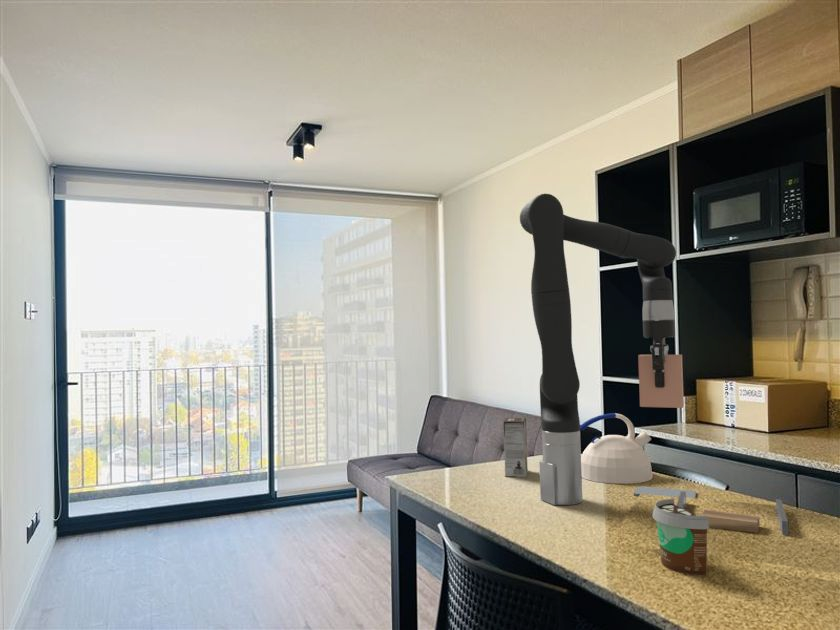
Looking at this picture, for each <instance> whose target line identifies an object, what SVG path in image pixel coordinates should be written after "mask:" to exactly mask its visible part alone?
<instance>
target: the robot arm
mask: <svg viewBox="0 0 840 630" xmlns="http://www.w3.org/2000/svg"><path fill="white" fill-rule="evenodd" d="M563 209H564V208H563V205H562V204H561V202H560V199H558V198H557V197H556V196H555V195H553V194H550V193H542V194H537V195H536V196H535V197H533V198H532V199H531V200H529V202H527V203H526V204H525V205H524V206H523V208H522V209H521V211H520V213H519V223H520V224H521V228H522V229H523V230H524V231H525V232H526V233H528V234H529V235H532V240H533V248H534V259H533V265H532V266H533V267H532V272H531V273H532V274H531V283H530V288H531V289H530V292H531V302H532V303H531V304H532V310H533V312H532V313H533V317H534V322H535V327H536V329H537V334H538V337H539V342H540V348H541V356H542V357H541V360H542V361H541V363H542V364H541V365H542V366H541V368H542V369H541V371H542V372H541V375H540V378H539V403H540V420H541V421H540V422H541V442H542V443H541V446H542V449H541V450H542V460H540V461H539V464H538V465H539V486H540V488H539V489H540V490H539V491H540V494H539V496H540V500H541V501H544V502H546V503H549V504H551V505H552V506H553V505H554V506H555V505H557V506H558V505H561V506H562V505H563V506H568V505H569V506H571V505H578V504H580V503H582V502H583V481H582V479H583V478H582V474H581V456H582V451H581V449H582V448H581V430H580V426H581V423H580V420H581V419H580V415H579V405H578V403H579V402H578V401H579V400H578V399H579V398H578V393H579V391H580V378H579V373H578V370H577V367H576V360H575V355H574V350H573V341H572V338H573V336H572V334H573V333H572V329H573V328H572V307H571V305H572V304H571V296H570V288H569V280H568V271H567V263H566V262H567V261H566V256H565V247H564V245H565V244H564V241H566V242H570V243H575V244H578V245H581V246H585V247H589V248H592V249H595V250H598V251H600V252H603V253H606V254H608V255H609V254H610V255H613V256H615V257H619V258H621V259H636V262H637V269H638V273H639V277H640V281H641V284H642V301H643V302H642V330H643V332H642V333H643V334H642V336H643V337H644V338H646V339H650V338H651V339H652V341H653V342H652V344H651V345H650V346H649V347H650V349H649V350H650V352H651V355H652V364H653V367H652V369H653V371H654V372H655V387H658V388H663V387H664V386H665V379H664V373H662V372H664V371H665V369H664V364H665V363H666V355H669V354H668V353H669V344H666V338H674V337H675V336H676V329H675V328H676V327H675V325H676V324H675V308H674V302H673V298H674V297H673V286H672V280H671V279H670V278H668V277H666V274H665V269H664V267H667V266H669V265H671V264H672V263H673V262H674V260H675V259H676V257H677V249H676V248H675V245H674V244H673V243H672V242H671V241H669V240H668V239H665V238H663V237H661V236H660V237H659V236H656V235H649V234H644V233H638V232H634V231H631V230H628V229H625V228H623V227H619V226H616V225H613V224H609V223H606V222H599V221H592V220H586V219H585V220H584V219H579V218H575V217H572V216H568V215H566V214H564V210H563ZM663 356H664V359H663ZM656 363H661V365H656Z"/></svg>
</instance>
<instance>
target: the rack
mask: <svg viewBox="0 0 840 630" xmlns="http://www.w3.org/2000/svg"><path fill="white" fill-rule="evenodd" d="M686 505H687V498H686V492H682V491H681V493H680V496H679V497H678V500H677V503H676V506H678V507H680V508H684V509H686ZM775 511H776V515H777V519H778V523H779V527H780V530H781V534H782V536H787V537H788V536H790V535H789V521H788V517H787V514H786V512H785V511H786V510H785V507H784V504H783V501H782V499H780V498H778V499H777V498H775Z"/></svg>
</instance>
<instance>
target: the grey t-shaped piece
mask: <svg viewBox="0 0 840 630" xmlns="http://www.w3.org/2000/svg"><path fill="white" fill-rule="evenodd" d="M681 491H682V492H686V499H688V498H689V499H696V497H697V490H692V489H691V490H690V489H689V490H688V489H677V488H665V487H652V486H642V485H641V486H637V487H636V488H635V491H634V492H633V496H635V497H640V496H641V495H652V496H664V497H675V498H677V497H678V498H679V496H680V493H681Z"/></svg>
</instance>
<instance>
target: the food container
mask: <svg viewBox="0 0 840 630" xmlns="http://www.w3.org/2000/svg"><path fill="white" fill-rule="evenodd" d="M652 518H653V519H654V520H655V521H656V524H657V525H656V526H657V535H658V541H659V551H660V560H661V564H662V566H663V567H665V568H667V569H668V570H671V571H674V572H677V573H680V574H686V575H695V576H707V569H708V568H707V565H708V562H707V561H708V560H707V558H708V557H707V555H708V530H710V527H709V524H708V520H707V516H701V515H696V514H694V512H692V511H691V510H690V509H688V508H685V509H684V508H680V507H678V506H677V504H675V498H667V499H662V500H659V501H657V502H655V506H654V507H653V511H652Z"/></svg>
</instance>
